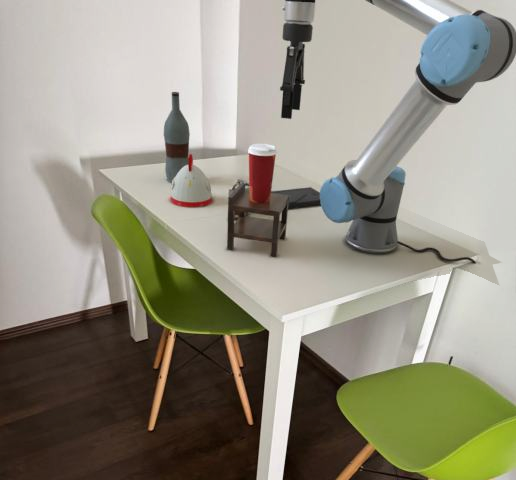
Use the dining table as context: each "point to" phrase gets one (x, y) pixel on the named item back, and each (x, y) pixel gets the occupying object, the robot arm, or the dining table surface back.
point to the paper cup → (261, 171)
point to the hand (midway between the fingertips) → (290, 113)
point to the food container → (233, 191)
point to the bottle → (176, 140)
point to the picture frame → (301, 197)
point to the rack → (257, 226)
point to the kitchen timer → (191, 187)
